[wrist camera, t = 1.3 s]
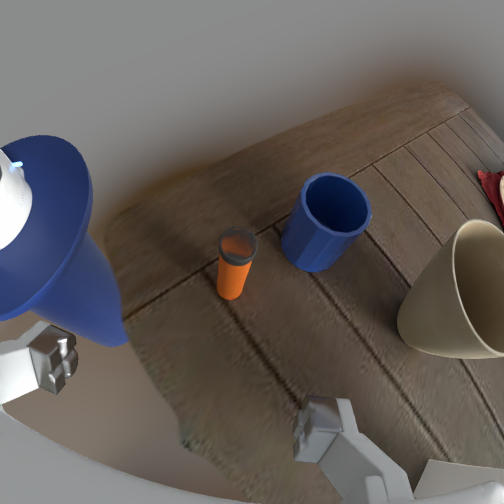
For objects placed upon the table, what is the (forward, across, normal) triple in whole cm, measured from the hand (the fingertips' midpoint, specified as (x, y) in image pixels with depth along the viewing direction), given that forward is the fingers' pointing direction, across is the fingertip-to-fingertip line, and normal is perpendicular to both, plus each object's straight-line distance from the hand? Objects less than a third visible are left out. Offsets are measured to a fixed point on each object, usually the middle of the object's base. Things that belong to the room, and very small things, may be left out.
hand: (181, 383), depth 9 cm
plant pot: (+27, -26, +8) cm, 38 cm away
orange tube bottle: (+26, 0, +8) cm, 27 cm away
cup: (+32, -9, +2) cm, 33 cm away
